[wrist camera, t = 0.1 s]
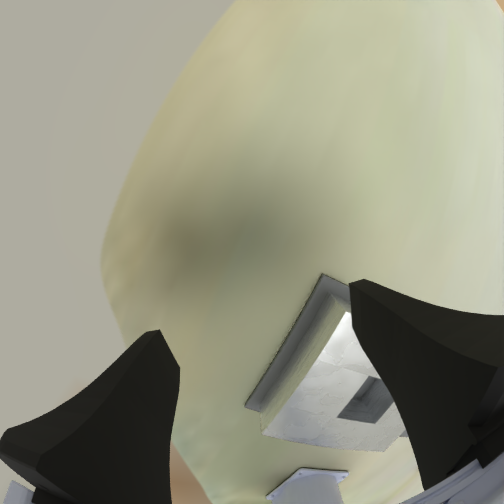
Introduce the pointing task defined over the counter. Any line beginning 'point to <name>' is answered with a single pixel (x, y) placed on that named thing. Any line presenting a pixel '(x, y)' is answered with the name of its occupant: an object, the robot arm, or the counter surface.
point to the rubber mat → (295, 337)
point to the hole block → (330, 390)
